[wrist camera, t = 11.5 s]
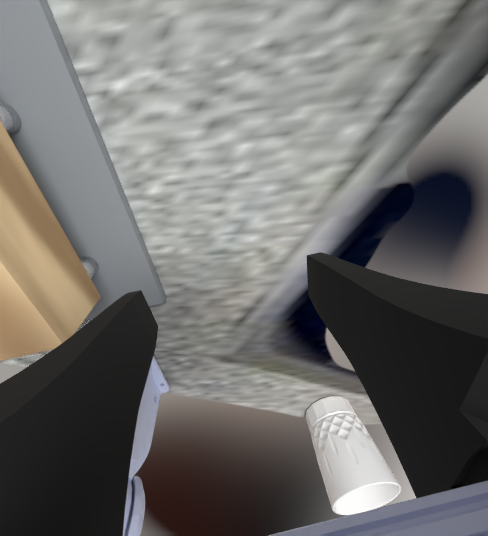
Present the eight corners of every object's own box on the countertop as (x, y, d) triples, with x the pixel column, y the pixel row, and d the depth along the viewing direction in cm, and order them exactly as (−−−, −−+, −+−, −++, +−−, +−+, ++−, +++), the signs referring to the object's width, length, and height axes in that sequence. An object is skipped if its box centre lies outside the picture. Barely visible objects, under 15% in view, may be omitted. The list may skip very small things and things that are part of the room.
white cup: (352, 386, 33) (405, 475, 24) (352, 417, 36) (397, 503, 28) (298, 401, 33) (330, 496, 24) (303, 430, 36) (333, 521, 28)
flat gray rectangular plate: (166, 296, 22) (160, 317, 19) (48, 321, 22) (26, 346, 19) (44, -6, 12) (-1, -47, 10) (-172, 29, 12) (-279, -4, 9)
